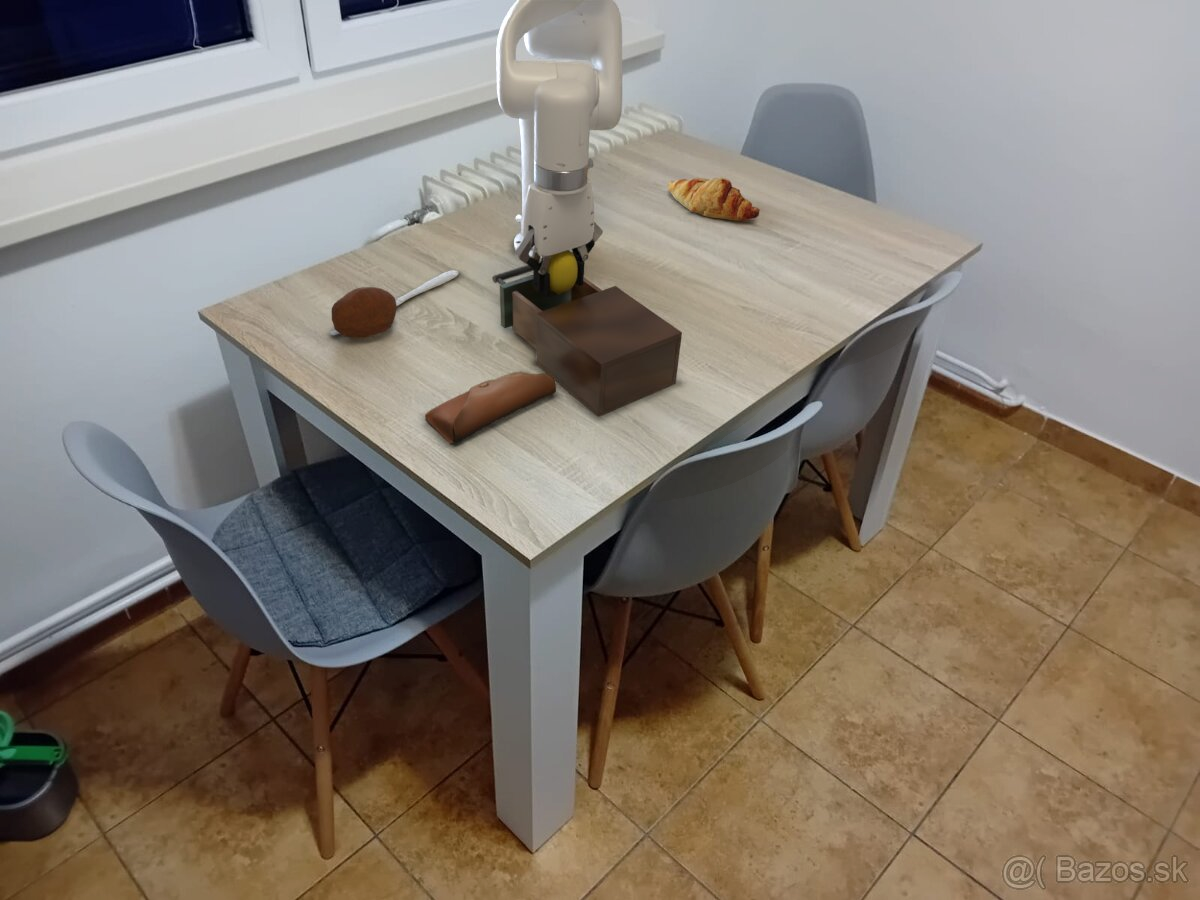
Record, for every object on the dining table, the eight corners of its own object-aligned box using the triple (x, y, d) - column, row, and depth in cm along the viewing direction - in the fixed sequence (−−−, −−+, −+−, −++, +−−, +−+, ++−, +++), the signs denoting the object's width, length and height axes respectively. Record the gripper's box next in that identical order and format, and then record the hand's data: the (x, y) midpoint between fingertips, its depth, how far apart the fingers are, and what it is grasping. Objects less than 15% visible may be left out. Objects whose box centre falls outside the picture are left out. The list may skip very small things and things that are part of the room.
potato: (321, 331, 141) (315, 291, 136) (377, 306, 148) (373, 266, 142) (354, 357, 138) (349, 316, 132) (410, 329, 144) (408, 289, 139)
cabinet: (536, 364, 138) (536, 313, 132) (612, 335, 145) (615, 285, 139) (598, 417, 129) (601, 364, 123) (675, 383, 136) (682, 332, 130)
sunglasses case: (519, 368, 136) (534, 346, 131) (546, 406, 135) (561, 385, 130) (419, 416, 126) (431, 394, 121) (447, 457, 125) (460, 437, 120)
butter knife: (464, 274, 156) (452, 267, 158) (337, 338, 140) (325, 330, 142) (464, 277, 157) (452, 270, 158) (338, 341, 141) (325, 333, 142)
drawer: (478, 307, 148) (477, 267, 143) (546, 284, 155) (546, 245, 150) (552, 369, 136) (553, 328, 131) (623, 342, 142) (626, 301, 138)
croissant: (658, 213, 187) (650, 186, 180) (683, 178, 190) (676, 150, 183) (748, 243, 178) (744, 216, 171) (773, 206, 180) (770, 177, 173)
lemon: (572, 305, 137) (573, 257, 132) (536, 300, 138) (536, 252, 133) (580, 287, 141) (582, 240, 136) (545, 282, 142) (546, 235, 137)
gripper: (594, 152, 134) (589, 262, 145) (494, 177, 125) (497, 292, 137) (625, 170, 129) (618, 282, 141) (524, 197, 121) (525, 314, 132)
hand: (558, 286), depth 139 cm, fingers closed on lemon, 5 cm apart
